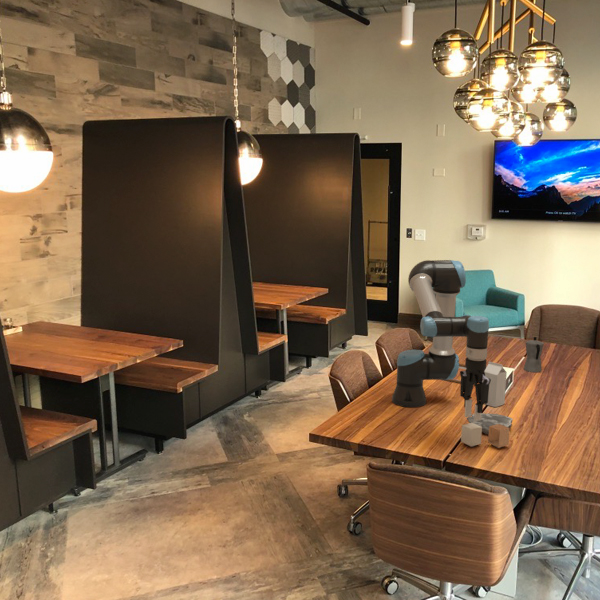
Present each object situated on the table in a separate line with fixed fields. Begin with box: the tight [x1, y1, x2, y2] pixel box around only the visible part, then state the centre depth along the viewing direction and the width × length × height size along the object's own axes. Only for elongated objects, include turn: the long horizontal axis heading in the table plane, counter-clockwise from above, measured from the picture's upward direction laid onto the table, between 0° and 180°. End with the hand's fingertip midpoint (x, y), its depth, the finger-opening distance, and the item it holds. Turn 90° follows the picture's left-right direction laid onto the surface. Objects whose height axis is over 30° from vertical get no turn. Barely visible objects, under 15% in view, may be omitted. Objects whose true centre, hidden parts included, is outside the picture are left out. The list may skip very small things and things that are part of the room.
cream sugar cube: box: [460, 422, 483, 447], centre depth 251 cm, size 5×5×7 cm
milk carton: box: [484, 361, 507, 408], centre depth 296 cm, size 7×7×19 cm
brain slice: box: [466, 412, 514, 436], centre depth 270 cm, size 20×17×3 cm
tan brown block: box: [487, 424, 511, 449], centre depth 250 cm, size 5×5×8 cm
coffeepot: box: [523, 336, 545, 373], centre depth 349 cm, size 15×9×18 cm, turn 175°
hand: (472, 418), depth 249 cm, fingers open, 4 cm apart
